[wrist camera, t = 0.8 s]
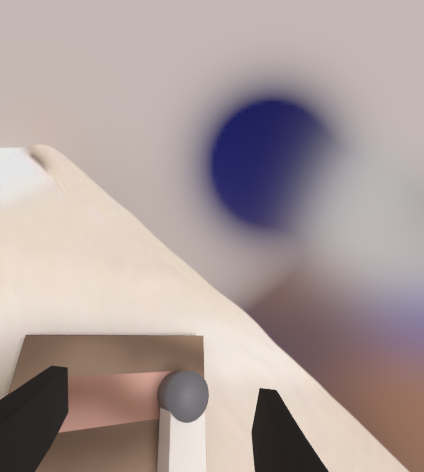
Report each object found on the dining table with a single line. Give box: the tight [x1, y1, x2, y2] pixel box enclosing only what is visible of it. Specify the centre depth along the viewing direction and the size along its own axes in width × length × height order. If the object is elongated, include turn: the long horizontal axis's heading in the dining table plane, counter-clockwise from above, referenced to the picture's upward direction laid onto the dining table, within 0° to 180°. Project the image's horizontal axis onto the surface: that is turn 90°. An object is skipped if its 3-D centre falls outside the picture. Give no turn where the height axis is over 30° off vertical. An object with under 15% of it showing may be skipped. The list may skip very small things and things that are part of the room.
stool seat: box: [8, 335, 204, 472], centre depth 20 cm, size 16×16×2 cm
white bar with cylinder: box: [157, 371, 209, 472], centre depth 19 cm, size 13×4×3 cm, turn 2°
